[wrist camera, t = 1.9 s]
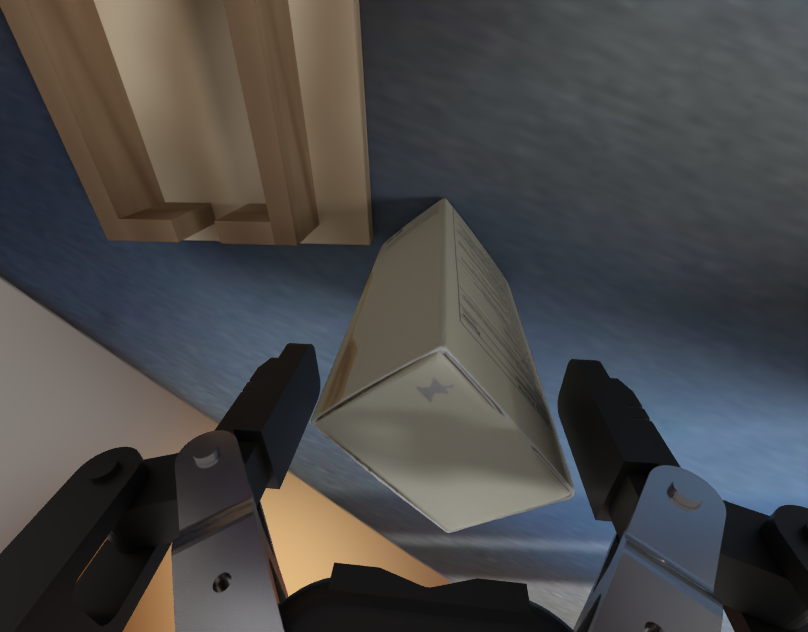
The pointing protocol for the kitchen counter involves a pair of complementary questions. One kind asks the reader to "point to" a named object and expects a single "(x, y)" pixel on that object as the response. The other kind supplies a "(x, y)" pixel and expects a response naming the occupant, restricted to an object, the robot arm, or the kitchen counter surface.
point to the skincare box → (443, 383)
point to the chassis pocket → (208, 115)
